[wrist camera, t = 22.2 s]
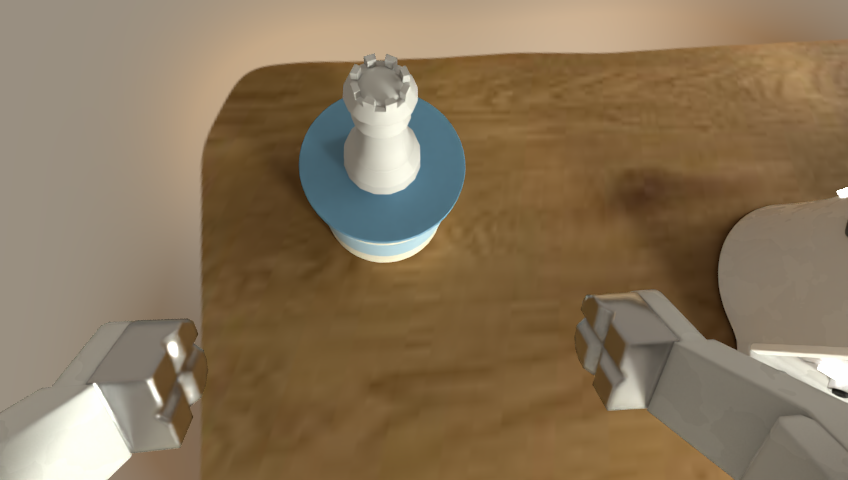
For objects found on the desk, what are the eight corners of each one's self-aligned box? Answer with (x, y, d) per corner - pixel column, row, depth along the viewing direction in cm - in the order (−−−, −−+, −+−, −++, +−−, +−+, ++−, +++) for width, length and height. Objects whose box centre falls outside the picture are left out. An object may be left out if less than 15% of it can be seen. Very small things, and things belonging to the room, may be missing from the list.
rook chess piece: (434, 153, 26) (454, 69, 18) (392, 212, 25) (395, 147, 17) (372, 115, 26) (366, 15, 19) (328, 171, 25) (302, 89, 17)
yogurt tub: (473, 203, 34) (498, 158, 26) (389, 296, 32) (389, 277, 24) (380, 125, 35) (378, 60, 27) (292, 210, 33) (262, 165, 25)
